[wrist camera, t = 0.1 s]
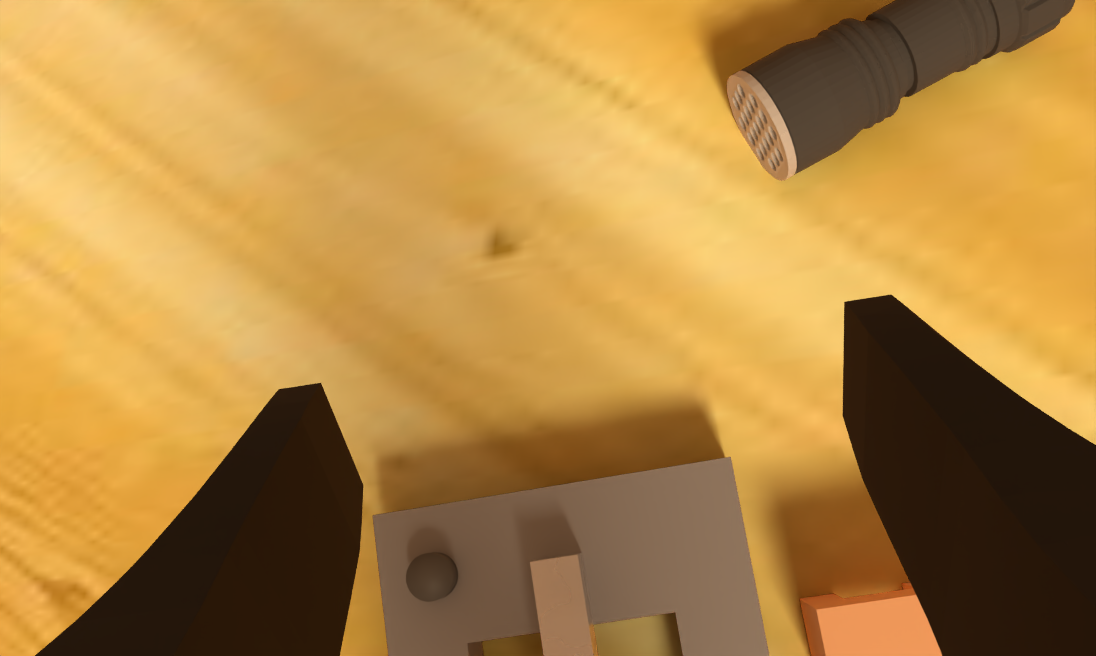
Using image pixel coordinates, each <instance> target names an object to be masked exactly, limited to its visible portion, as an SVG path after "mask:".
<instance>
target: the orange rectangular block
mask: <svg viewBox="0 0 1096 656" xmlns="http://www.w3.org/2000/svg"><path fill="white" fill-rule="evenodd" d="M902 586H903V590H897V591H891V592H884V593H877V594H871V595H864V596H857V597H850V598H844V599H843V598H841V597H839V596H837V595H835V594H828V595H821V596H814V597H808V598H801V599H800V603H801V608H802V613H803V618H804V623H805V628H806V633H807V638H808V643H809V648H810V653H811V656H942V654H941V651H940V648H939V646H938V643H937V641H936V639H935V636H934V634H933V631H932V629H931V627H930V624H929V622H928V619H927V617H926V615H925V613H924V611H923V609H922V606H921V604H920V602H919V600H918V598H917V596H916V594H915V591H914V589H913V587H912V585H911V583H910V582H908V583H902Z"/></svg>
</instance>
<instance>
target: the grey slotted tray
mask: <svg viewBox="0 0 1096 656" xmlns="http://www.w3.org/2000/svg"><path fill="white" fill-rule="evenodd" d="M373 524H374V532H375V541H376V550H377V559H378V567H379V576H380V585H381V594H382V602H383V611H384V620H385V629H386V637H387V646H388V655H389V656H483V648H482V641H486V640H493V639H500V638H506V637H513V636H520V635H526V634H533V633H540V634H541V641H542V648H543V655H544V656H598V651H597V644H596V638H595V632H594V625H593V624H600V623H607V622H613V621H620V620H627V619H633V618H640V617H647V616H654V615H660V614H667V613H674V612H675V613H676V619H677V625H678V630H679V636H680V642H681V648H682V653H683V656H769V651H768V646H767V641H766V636H765V631H764V625H763V620H762V615H761V610H760V605H759V600H758V595H757V589H756V584H755V579H754V574H753V569H752V564H751V559H750V553H749V548H748V543H747V538H746V533H745V528H744V523H743V517H742V512H741V507H740V502H739V497H738V492H737V487H736V482H735V476H734V471H733V466H732V461H731V457H727V458H721V459H715V460H709V461H703V462H696V463H690V464H684V465H678V466H672V467H666V468H660V469H654V470H647V471H641V472H635V473H629V474H623V475H617V476H611V477H605V478H598V479H592V480H586V481H580V482H574V483H568V484H562V485H556V486H550V487H543V488H537V489H531V490H525V491H519V492H513V493H507V494H501V495H494V496H488V497H482V498H476V499H470V500H464V501H458V502H452V503H446V504H439V505H433V506H427V507H421V508H415V509H409V510H403V511H397V512H390V513H384V514H378V515H373Z"/></svg>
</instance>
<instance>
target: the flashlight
mask: <svg viewBox="0 0 1096 656" xmlns="http://www.w3.org/2000/svg"><path fill="white" fill-rule="evenodd" d="M1074 2H1075V0H896V1H894V2H892V3H890V4H888V5H887V6H885V7H883V8H881V9H879V10H877V11H876V12H874V13H872V14H870V15H869V16H868V17H867V18H866V20H865V21H863V22H861V21H859V20H855V19H850V18H849V19H843V20H842V21H840V22H839V23H838V24H836V25H832V26H831V27H830V28H829V29H828V30H823V31H822V32H820V33H819V34H818V36H817V37H815V38H811V39H808V40H804V41H800V42H796V43H792V44H789V45H786V46H784V47H782V48H780V49H779V50H777V51H775V52H773V53H771V54H769V55H768V56H766V57H764V58H762V59H760V60H759V61H757V62H755V63H753V64H751V65H750V66H748V67H746V68H744V69H742V70H741V71H738V72H737V73H735V74H733V75H731V76H730V77H729V78H728V81H727V94H728V98H729V102H730V106H731V109H732V112H733V115H734V118H735V120H736V123H737V125H738V127H739V129H740V131H741V133H742V135H743V137H744V138H745V140H746V141H747V143H748V144H749V146H750V148H751V149H752V151H753V152H754V154H755V155H756V157H757V158H758V160H759V162H760V163H761V165H762V166H763V167H764V168H765V170H766V171H767V172H768V173H770V174H771V175H772V176H773V177H774V178H776V179H778V180H781V181H783V180H786V179H788V178H789V177H791V176H793V175H795V174H796V173H798V172H800V171H802V170H804V169H806V168H807V167H809V166H811V165H813V164H815V163H817V162H818V161H820V160H822V159H824V158H826V157H828V156H829V155H831V154H833V153H835V152H837V151H839V150H840V149H841V148H842V147H843V146H845V145H846V144H847V143H848V142H849V141H850V140H851V139H852V138H853V137H854V136H855V135H857V134H858V133H859V132H860V131H861V130H862V129H866V128H870V127H872V126H873V125H874V124H875V123H879V122H881V121H883V120H884V119H885V118H887V117H891V116H892V115H893V114H894V113H895V112H896V110H897V109H898V106H899V103H900V98H902V97H904V96H905V97H908V96H911V95H913V94H915V93H917V92H919V91H921V90H922V89H924V88H926V87H928V86H930V85H932V84H933V83H935V82H937V81H939V80H941V79H943V78H944V77H946V76H948V75H950V74H952V73H954V72H960V71H963V70H966V69H967V68H968V67H970V66H971V65H974V64H977V63H978V62H980V61H981V59H986V58H989V57H991V56H993V55H995V54H997V53H999V52H1000V51H1002V52H1011V51H1013V50H1016V49H1018V48H1020V47H1022V46H1024V45H1026V44H1027V43H1029V42H1031V41H1033V40H1035V39H1036V38H1038V37H1040V36H1042V35H1044V34H1046V33H1047V32H1049V31H1051V30H1053V29H1054V28H1055V27H1056V26H1057V25H1058V24H1059V23H1060V19H1061V18H1062V17H1064V16H1065V15H1067V14H1068V13H1069V12H1070V11H1071V9H1072V7H1073V5H1074Z"/></svg>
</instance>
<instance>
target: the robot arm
mask: <svg viewBox="0 0 1096 656" xmlns="http://www.w3.org/2000/svg"><path fill="white" fill-rule="evenodd" d="M843 418H844V421H845V425H846V428H847V431H848V434H849V438H850V441H851V444H852V448H853V451H854V454H855V457H856V460H857V463H858V466H859V469H860V472H861V475H862V478H863V481H864V483H865V486H866V488H867V490H868V492H869V495H870V497H871V499H872V501H873V503H874V505H875V508H876V510H877V512H878V514H879V516H880V519H881V521H882V523H883V525H884V527H885V529H886V532H887V534H888V536H889V538H890V540H891V542H892V544H893V547H894V549H895V551H896V553H897V555H898V557H899V559H900V562H901V564H902V566H903V568H904V570H905V572H906V574H907V576H908V579H909V581H910V583H911V585H912V587H913V589H914V591H915V594H916V596H917V598H918V600H919V602H920V604H921V606H922V609H923V611H924V613H925V615H926V617H927V619H928V622H929V624H930V627H931V629H932V631H933V634H934V636H935V639H936V641H937V643H938V646H939V648H940V651H941V654H942V656H1096V445H1095V444H1093V443H1091V442H1090V441H1088V440H1086V439H1085V438H1083V437H1081V436H1080V435H1078V434H1077V433H1075V432H1073V431H1072V430H1070V429H1068V428H1067V427H1065V426H1064V425H1062V424H1061V423H1059V422H1058V421H1056V420H1055V419H1053V418H1052V417H1050V416H1049V415H1047V414H1046V413H1044V412H1043V411H1041V410H1040V409H1038V408H1037V407H1035V406H1034V405H1032V404H1031V403H1029V402H1028V401H1026V400H1025V399H1024V398H1022V397H1021V396H1019V395H1018V394H1017V393H1015V392H1014V391H1012V390H1011V389H1010V388H1008V387H1007V386H1006V385H1004V384H1003V383H1002V382H1000V381H999V380H998V379H996V378H995V377H994V376H992V375H991V374H990V373H988V372H987V371H986V370H984V369H983V368H982V367H980V366H979V365H978V364H976V363H975V362H974V361H973V360H971V359H970V358H969V357H967V356H966V355H965V354H964V353H962V352H961V351H960V350H959V349H957V348H956V347H955V346H954V345H952V344H951V343H950V342H949V341H947V340H946V339H945V338H944V337H943V336H941V335H940V334H939V333H938V332H936V331H935V330H934V329H933V328H932V327H930V326H929V325H928V324H927V323H926V322H924V321H923V320H922V319H921V318H920V317H918V316H917V315H916V314H915V313H913V312H912V311H911V310H910V309H909V308H907V307H906V306H905V305H904V304H902V303H901V302H900V301H899V300H897V299H896V298H895V297H894V296H892V295H886V296H879V297H873V298H866V299H860V300H853V301H847V302H845V304H844V368H843ZM362 503H363V483H362V481H361V479H360V476H359V474H358V471H357V469H356V466H355V464H354V462H353V459H352V457H351V454H350V452H349V450H348V447H347V445H346V442H345V440H344V438H343V435H342V433H341V430H340V428H339V425H338V423H337V421H336V418H335V416H334V413H333V411H332V409H331V406H330V404H329V401H328V399H327V397H326V394H325V392H324V389H323V387H322V385H321V383H317V384H310V385H304V386H297V387H291V388H285V389H279V390H278V391H277V392H276V393H275V395H274V396H273V397H272V398H271V399H270V401H269V402H268V403H267V404H266V406H265V407H264V408H263V410H262V411H261V412H260V413H259V415H258V416H257V417H256V419H255V420H254V421H253V422H252V424H251V425H250V426H249V428H248V429H247V430H246V432H245V433H244V434H243V435H242V437H241V438H240V439H239V441H238V442H237V443H236V445H235V446H234V447H233V448H232V450H231V451H230V452H229V454H228V455H227V456H226V457H225V459H224V460H223V461H222V462H221V464H220V465H219V466H218V467H217V469H216V470H215V471H214V472H213V474H212V475H211V476H210V477H209V479H208V480H207V481H206V482H205V484H204V485H203V486H202V487H201V489H200V490H199V491H198V492H197V494H196V495H195V496H194V497H193V498H192V500H191V501H190V502H189V503H188V504H187V505H186V506H185V508H184V509H183V510H182V511H181V512H180V513H179V514H178V516H177V517H176V518H175V519H174V520H173V521H172V522H171V524H170V525H169V526H168V527H167V528H166V529H165V530H164V532H163V533H162V534H161V535H160V536H159V537H158V538H157V540H156V541H155V542H154V543H153V544H152V545H151V546H150V548H149V549H148V550H147V551H146V552H145V553H144V554H143V555H142V556H141V557H140V558H139V559H138V561H137V562H136V563H135V564H134V565H133V566H132V567H131V568H130V569H129V570H128V571H127V572H126V573H125V574H124V575H123V576H122V577H121V578H120V579H119V580H118V581H117V582H116V583H115V584H114V585H113V586H112V587H111V588H110V589H109V590H108V591H107V592H106V593H105V594H104V595H103V596H102V597H101V598H100V599H98V600H97V601H96V602H95V603H94V604H93V605H92V606H91V607H90V608H89V609H88V610H87V611H86V612H85V613H84V614H83V615H82V616H81V617H79V618H78V619H77V620H76V621H75V622H74V623H73V624H72V625H70V626H69V627H68V628H67V629H66V630H65V631H63V632H62V633H61V634H60V635H59V636H58V637H56V638H55V639H54V640H53V641H52V642H50V643H49V644H48V645H47V646H46V647H45V648H43V649H42V650H41V651H40V652H39V653H38V654H36V655H35V656H340V651H341V646H342V641H343V636H344V631H345V625H346V620H347V615H348V610H349V605H350V600H351V595H352V589H353V584H354V579H355V574H356V568H357V563H358V557H359V551H360V539H361V524H362Z"/></svg>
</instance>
